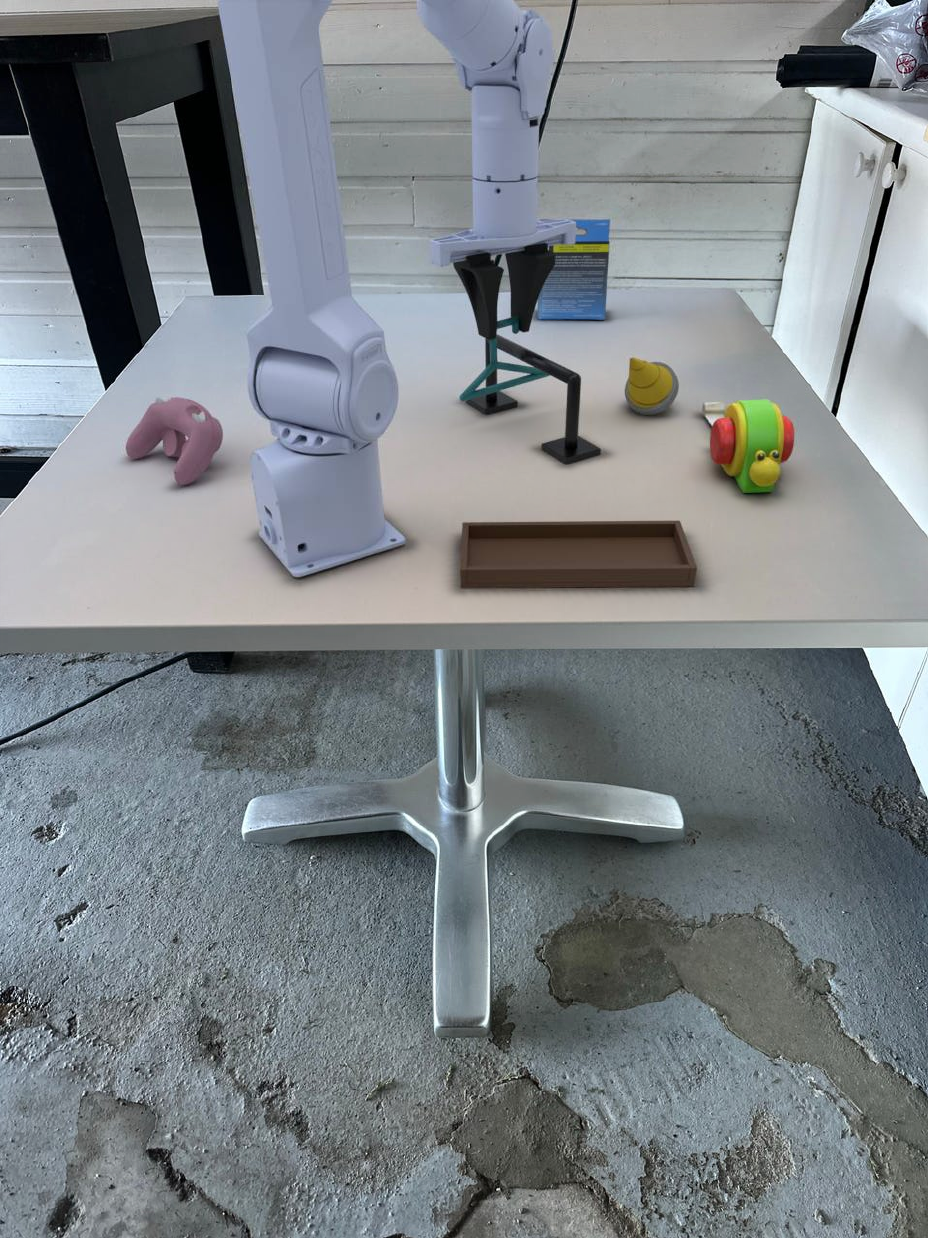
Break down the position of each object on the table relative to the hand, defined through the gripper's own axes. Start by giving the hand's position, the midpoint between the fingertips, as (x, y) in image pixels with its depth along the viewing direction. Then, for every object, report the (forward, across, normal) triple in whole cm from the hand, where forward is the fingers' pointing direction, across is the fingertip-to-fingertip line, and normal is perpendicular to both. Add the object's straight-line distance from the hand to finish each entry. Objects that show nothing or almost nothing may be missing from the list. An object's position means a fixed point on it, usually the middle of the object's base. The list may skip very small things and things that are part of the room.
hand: (504, 332), depth 85 cm
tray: (+9, +10, +26) cm, 29 cm away
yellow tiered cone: (+9, -13, +7) cm, 17 cm away
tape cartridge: (+9, -26, -24) cm, 37 cm away
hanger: (+6, 0, 0) cm, 6 cm away
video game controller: (+9, +31, -8) cm, 33 cm away
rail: (+9, -1, +3) cm, 9 cm away
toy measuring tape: (+9, -13, +19) cm, 25 cm away
